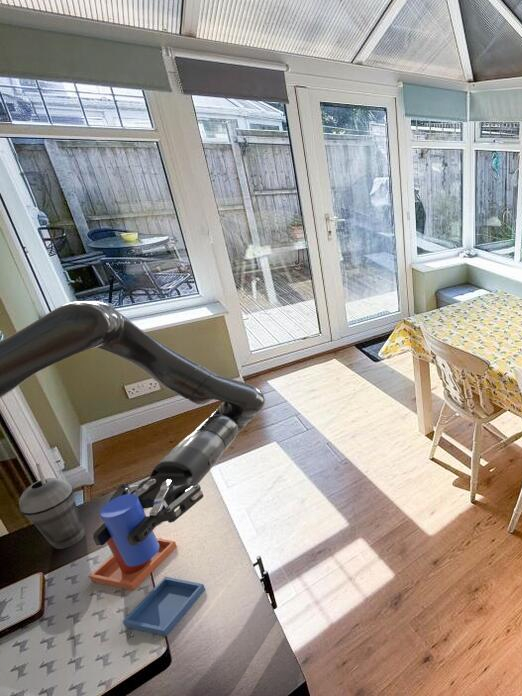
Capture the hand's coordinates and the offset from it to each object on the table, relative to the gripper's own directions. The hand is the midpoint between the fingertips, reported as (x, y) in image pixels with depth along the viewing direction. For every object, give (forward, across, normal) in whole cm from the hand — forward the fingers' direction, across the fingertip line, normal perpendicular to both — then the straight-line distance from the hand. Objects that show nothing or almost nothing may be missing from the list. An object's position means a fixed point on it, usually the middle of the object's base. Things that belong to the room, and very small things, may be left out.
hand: (114, 541), depth 62 cm
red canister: (-11, -12, +20) cm, 26 cm away
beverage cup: (-16, -29, +21) cm, 39 cm away
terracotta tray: (-11, -12, +21) cm, 26 cm away
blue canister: (-3, 0, +6) cm, 7 cm away
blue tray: (-2, 0, +21) cm, 21 cm away
